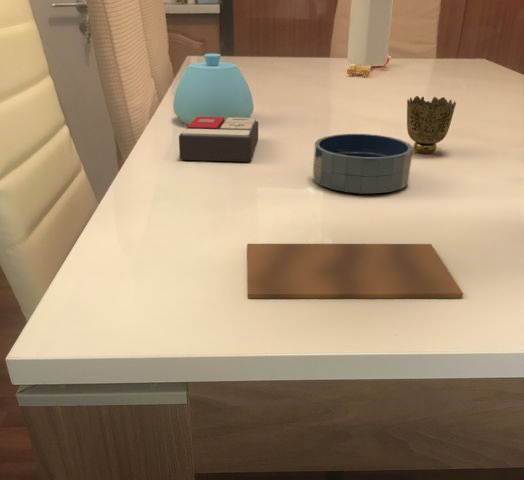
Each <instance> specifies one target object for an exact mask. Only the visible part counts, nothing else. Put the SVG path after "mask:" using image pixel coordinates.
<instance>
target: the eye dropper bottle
mask: <svg viewBox="0 0 524 480" xmlns="http://www.w3.org/2000/svg"><path fill="white" fill-rule="evenodd" d="M393 7H394V0H351V1H350V14H349V15H350V16H349V29H348V43H347V55H346V56H347V61H348V62H349V63H350V64H351V65H352V64H355V65H359V66H371V67H381V66H384V65H385V64H386V63H387V57H388V55H389V48H390V47H389V46H390V37H391V27H392V17H393ZM387 64H388V63H387Z"/></svg>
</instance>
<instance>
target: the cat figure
mask: <svg viewBox="0 0 524 480" xmlns="http://www.w3.org/2000/svg"><path fill="white" fill-rule="evenodd" d="M390 61H392V56H390V55H389V54H388V57H387V63H386V64H385V65H384V66H380V69H381V68H382V69H383V68H386V65H388V64H389V62H390ZM371 70H372V66H359V65H355V64H352V63H351V64H350V65H349V69H347V70H346V74H347V75H348V77H350V76H353V77H354V75H356V74H358V75H360V76H362V77H363V76H367V77H368V76H369V75H370V73H371Z"/></svg>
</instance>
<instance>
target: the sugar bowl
mask: <svg viewBox="0 0 524 480" xmlns="http://www.w3.org/2000/svg"><path fill="white" fill-rule="evenodd" d="M203 57H204V61H203V62H193V63H190V64H189V65H188V66H187V67H186V68H185V70H184V72H183V74H182V76H181V77H180V79H179V82H178V84H177V87H176V89H175V91H174V92H175V93H174V98H173V112H174V114H175V115H176V117H177V118H178V119H179V121H181V123H182V124H184V125H187V126H188V125H189V124H190V123H191V122H192V121H193V120H194V119H195V118H196V117H224V120H226V119H227V118H251V116H252V114H253V113H254V99H253V95H252V92H251V89H250V87H249V84H248V82H247V80H246V79H245V77H244V75H243V73H242V72H241V70H240V69H239V67H238V66H237V64H235V63H231V62H221V60H220V59H221V54H219V53H205V54H203Z"/></svg>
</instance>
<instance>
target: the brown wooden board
mask: <svg viewBox="0 0 524 480" xmlns="http://www.w3.org/2000/svg"><path fill="white" fill-rule="evenodd" d="M246 256H247V257H246V258H247V259H246V262H247V263H246V265H247V266H246V268H247V270H246V271H247V274H246V275H247V299H462V298H463V295H464V292H463V291H462V290H461V288H460V286H459V285H458V283H457V282H456V280H455V279H454V276H452V274H451V273H450V271H449V269H448V268H447V266H446V265H445V263H444V262H443V260H442V259H441V257H440V255H439V254H438V252H437V251H436V249H435V247H434V246H433V245H432V243H246Z"/></svg>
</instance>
